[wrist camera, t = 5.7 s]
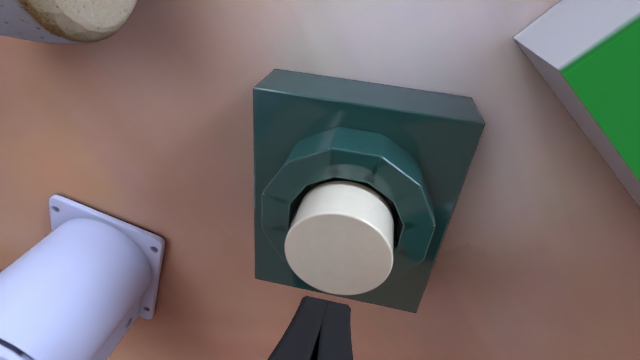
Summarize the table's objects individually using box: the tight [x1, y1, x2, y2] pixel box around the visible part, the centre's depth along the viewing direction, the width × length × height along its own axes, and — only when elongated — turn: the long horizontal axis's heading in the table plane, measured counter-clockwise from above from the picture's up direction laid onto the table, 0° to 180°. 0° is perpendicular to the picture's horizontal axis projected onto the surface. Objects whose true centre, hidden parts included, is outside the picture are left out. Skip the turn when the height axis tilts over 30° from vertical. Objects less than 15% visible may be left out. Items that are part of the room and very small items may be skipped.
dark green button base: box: [253, 69, 485, 313], centre depth 17 cm, size 11×9×5 cm
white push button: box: [284, 181, 394, 295], centre depth 14 cm, size 4×4×2 cm
